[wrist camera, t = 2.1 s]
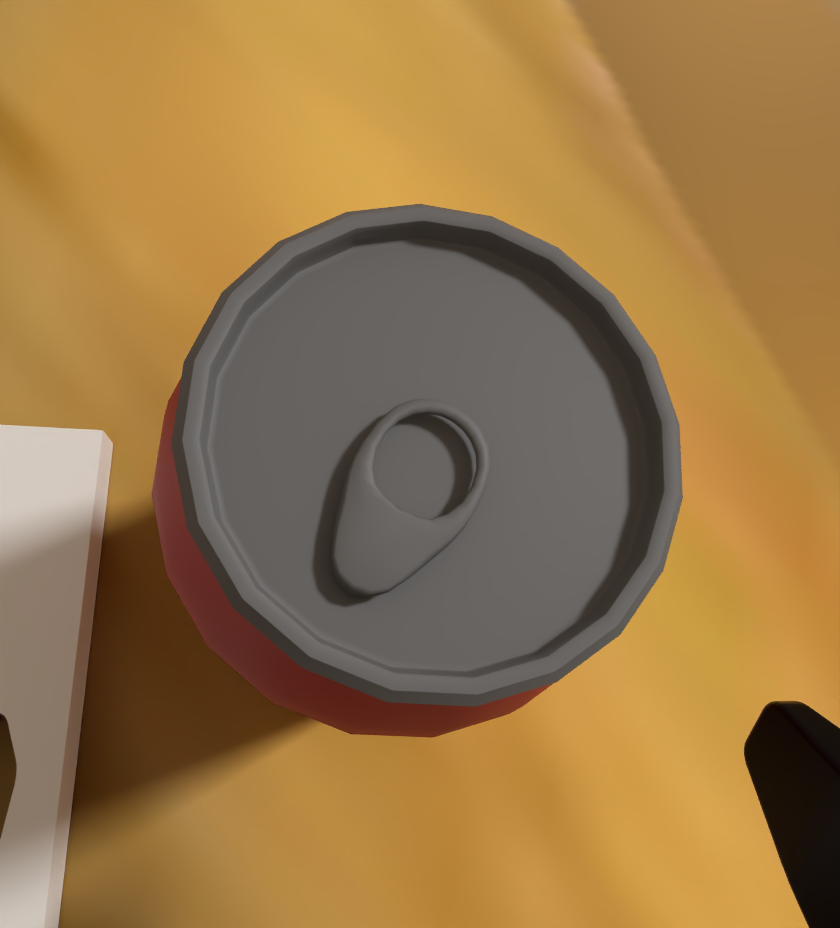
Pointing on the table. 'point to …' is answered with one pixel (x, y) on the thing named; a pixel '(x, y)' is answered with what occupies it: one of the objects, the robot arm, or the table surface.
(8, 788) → the robot arm
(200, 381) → the beer can
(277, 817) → the table surface
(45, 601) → the paper card
